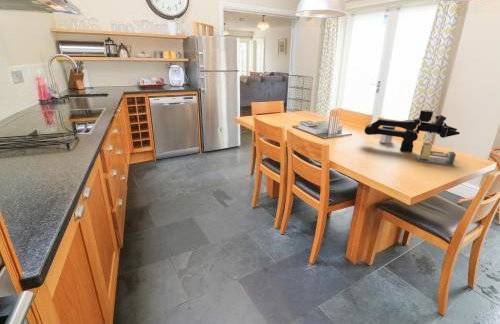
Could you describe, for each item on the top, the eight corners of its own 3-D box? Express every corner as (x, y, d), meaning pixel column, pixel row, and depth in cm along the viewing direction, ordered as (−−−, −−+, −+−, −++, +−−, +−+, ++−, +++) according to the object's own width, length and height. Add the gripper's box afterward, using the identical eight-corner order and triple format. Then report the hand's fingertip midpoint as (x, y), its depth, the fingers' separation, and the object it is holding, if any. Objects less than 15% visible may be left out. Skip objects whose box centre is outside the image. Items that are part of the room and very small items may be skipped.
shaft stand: (417, 161, 165) (420, 151, 162) (416, 156, 173) (418, 146, 171) (453, 166, 158) (456, 155, 155) (450, 160, 166) (453, 150, 164)
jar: (394, 142, 200) (398, 126, 196) (387, 144, 197) (390, 127, 192) (384, 139, 207) (387, 124, 203) (376, 140, 204) (379, 125, 200)
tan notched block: (421, 158, 165) (424, 145, 162) (419, 155, 170) (423, 142, 167) (428, 159, 164) (432, 146, 161) (427, 156, 169) (430, 143, 166)
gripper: (434, 117, 163) (465, 121, 157) (430, 112, 178) (459, 115, 172) (428, 135, 167) (459, 140, 161) (426, 129, 183) (453, 132, 176)
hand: (458, 131), depth 167 cm, fingers open, 9 cm apart
